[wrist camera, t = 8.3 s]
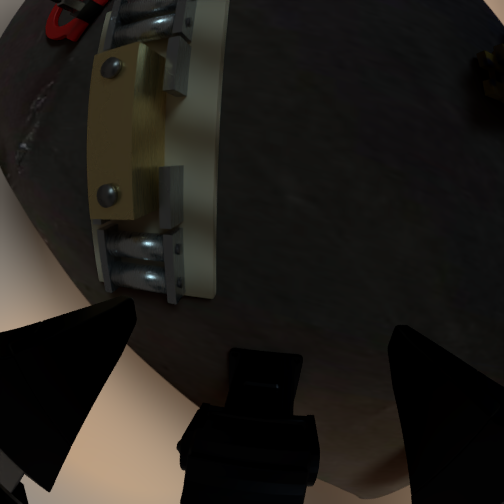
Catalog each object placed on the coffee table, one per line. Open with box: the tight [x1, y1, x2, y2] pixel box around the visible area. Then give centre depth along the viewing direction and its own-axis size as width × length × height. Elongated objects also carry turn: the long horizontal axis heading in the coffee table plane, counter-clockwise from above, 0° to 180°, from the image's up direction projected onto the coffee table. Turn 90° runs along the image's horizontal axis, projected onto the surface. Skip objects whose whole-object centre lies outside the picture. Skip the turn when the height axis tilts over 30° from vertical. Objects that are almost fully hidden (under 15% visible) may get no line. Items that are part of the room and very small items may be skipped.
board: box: [91, 0, 230, 299], centre depth 18 cm, size 25×11×1 cm, turn 177°
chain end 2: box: [93, 165, 186, 304], centre depth 19 cm, size 10×7×2 cm
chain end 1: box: [103, 0, 197, 97], centre depth 14 cm, size 10×7×2 cm
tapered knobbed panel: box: [87, 41, 167, 220], centre depth 15 cm, size 11×4×5 cm, turn 178°
